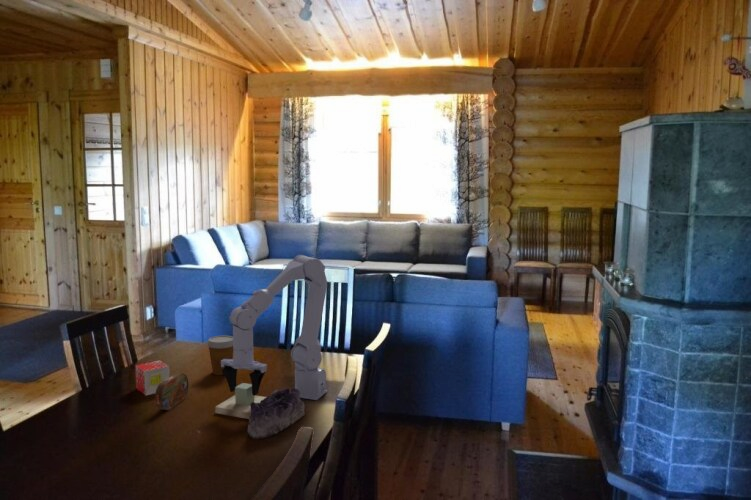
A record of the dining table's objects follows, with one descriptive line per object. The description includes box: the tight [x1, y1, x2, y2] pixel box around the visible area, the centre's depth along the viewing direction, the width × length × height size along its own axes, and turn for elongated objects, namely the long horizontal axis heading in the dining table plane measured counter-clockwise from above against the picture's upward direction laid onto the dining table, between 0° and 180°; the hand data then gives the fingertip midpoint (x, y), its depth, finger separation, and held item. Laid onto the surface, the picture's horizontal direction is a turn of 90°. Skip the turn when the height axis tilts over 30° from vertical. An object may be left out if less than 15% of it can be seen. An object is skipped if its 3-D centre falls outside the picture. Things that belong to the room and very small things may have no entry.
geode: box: [246, 387, 306, 440], centre depth 164 cm, size 20×12×10 cm, turn 158°
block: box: [234, 382, 255, 405], centre depth 175 cm, size 4×4×5 cm
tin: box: [154, 373, 189, 411], centre depth 178 cm, size 15×3×8 cm, turn 168°
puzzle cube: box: [135, 360, 171, 396], centre depth 190 cm, size 8×8×8 cm
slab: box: [214, 394, 268, 420], centre depth 176 cm, size 12×12×2 cm
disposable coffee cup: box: [206, 335, 234, 376], centre depth 207 cm, size 10×10×12 cm
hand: (244, 392), depth 175 cm, fingers open, 7 cm apart
